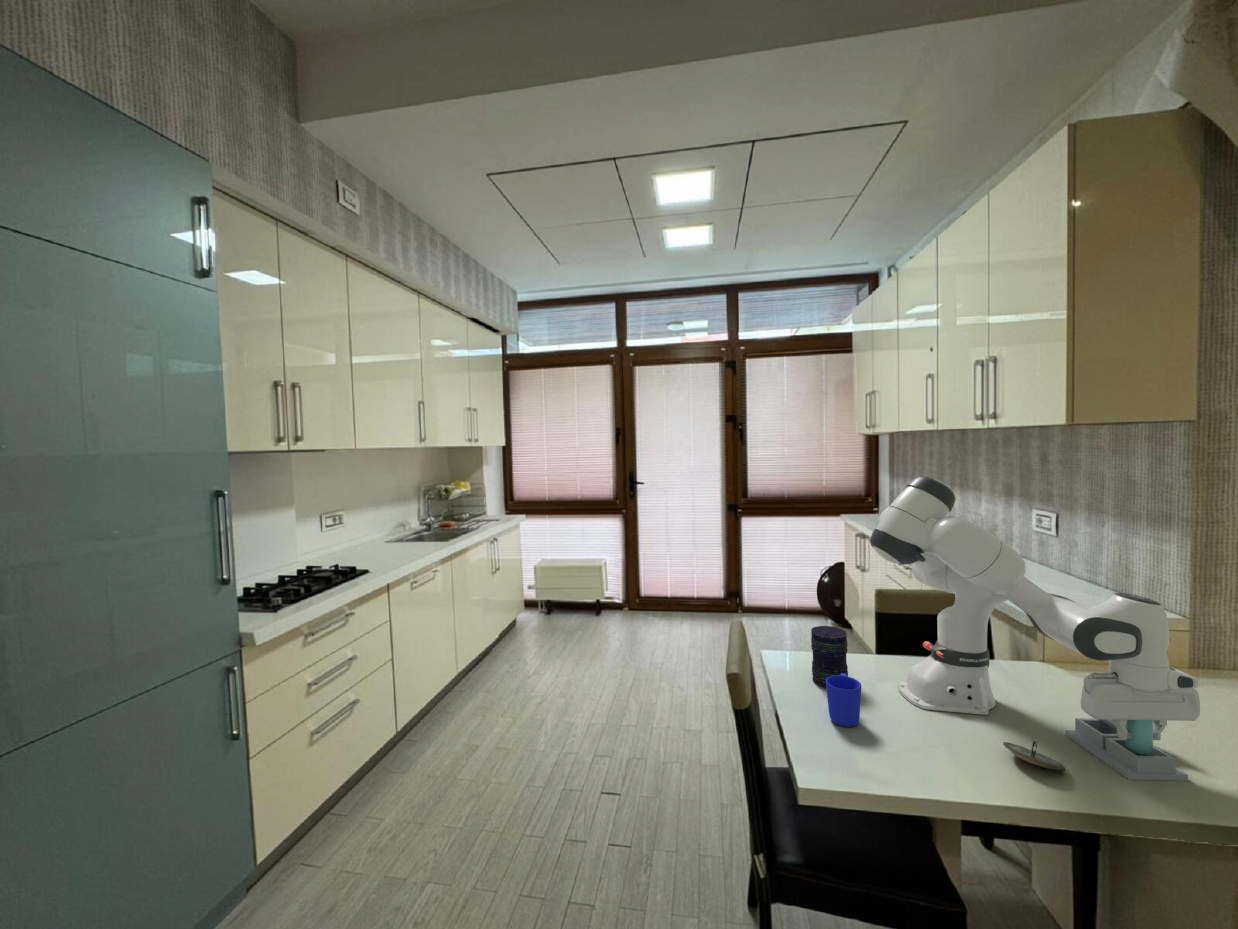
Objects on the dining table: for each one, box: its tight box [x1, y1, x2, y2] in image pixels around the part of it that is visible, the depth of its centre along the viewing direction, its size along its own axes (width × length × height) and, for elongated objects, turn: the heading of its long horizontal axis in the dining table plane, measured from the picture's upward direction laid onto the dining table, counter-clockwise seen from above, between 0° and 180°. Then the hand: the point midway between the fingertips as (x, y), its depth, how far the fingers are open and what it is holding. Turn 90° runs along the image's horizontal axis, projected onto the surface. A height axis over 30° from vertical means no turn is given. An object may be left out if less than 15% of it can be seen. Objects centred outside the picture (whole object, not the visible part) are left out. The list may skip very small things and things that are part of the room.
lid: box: [1002, 740, 1067, 772], centre depth 107 cm, size 11×10×5 cm
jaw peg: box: [1125, 720, 1154, 756], centre depth 105 cm, size 4×4×8 cm
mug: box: [825, 673, 862, 728], centre depth 128 cm, size 8×12×10 cm
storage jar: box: [810, 625, 849, 689], centre depth 148 cm, size 10×10×15 cm
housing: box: [1064, 717, 1189, 782], centre depth 109 cm, size 16×11×4 cm
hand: (1138, 738), depth 105 cm, fingers closed on jaw peg, 4 cm apart
